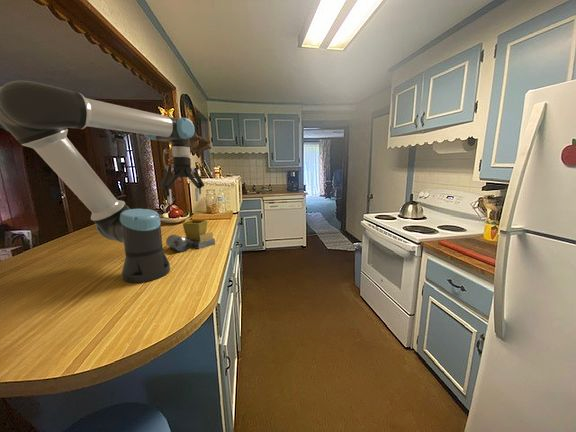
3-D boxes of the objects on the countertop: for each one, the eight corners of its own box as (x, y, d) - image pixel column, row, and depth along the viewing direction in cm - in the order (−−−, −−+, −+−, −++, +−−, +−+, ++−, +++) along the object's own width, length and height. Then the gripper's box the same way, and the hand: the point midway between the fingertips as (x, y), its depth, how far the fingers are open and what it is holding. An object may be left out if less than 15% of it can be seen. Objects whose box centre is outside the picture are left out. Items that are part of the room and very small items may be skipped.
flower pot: (193, 235, 124) (191, 219, 122) (208, 236, 123) (207, 219, 121) (183, 240, 115) (182, 223, 114) (200, 241, 114) (198, 223, 112)
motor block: (215, 244, 119) (214, 232, 118) (179, 254, 105) (177, 240, 104) (200, 239, 128) (199, 227, 127) (165, 248, 114) (163, 235, 113)
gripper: (202, 158, 120) (204, 199, 124) (149, 155, 101) (153, 203, 105) (210, 158, 116) (211, 200, 119) (156, 154, 97) (160, 205, 100)
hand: (184, 202), depth 112 cm, fingers open, 13 cm apart
